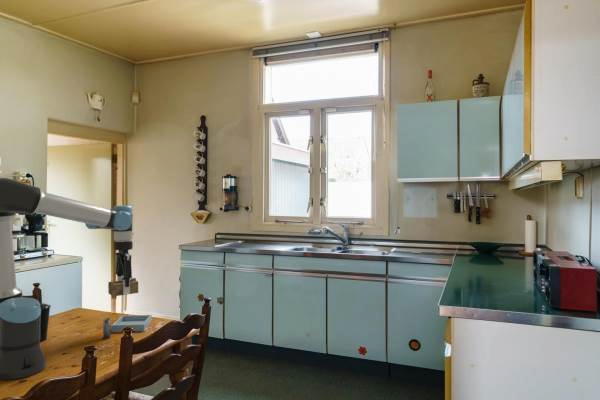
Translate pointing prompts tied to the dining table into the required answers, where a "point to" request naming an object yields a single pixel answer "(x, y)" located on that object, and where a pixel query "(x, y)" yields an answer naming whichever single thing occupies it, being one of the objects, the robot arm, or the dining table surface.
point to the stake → (107, 328)
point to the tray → (132, 323)
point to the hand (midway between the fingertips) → (123, 292)
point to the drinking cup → (43, 319)
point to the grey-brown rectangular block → (117, 287)
